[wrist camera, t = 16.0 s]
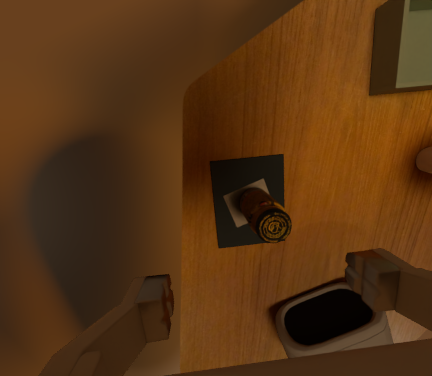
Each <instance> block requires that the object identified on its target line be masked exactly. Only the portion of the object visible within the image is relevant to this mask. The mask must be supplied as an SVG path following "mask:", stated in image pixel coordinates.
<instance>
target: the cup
mask: <svg viewBox="0 0 432 376" xmlns="http://www.w3.org/2000/svg"><path fill="white" fill-rule="evenodd" d="M416 166H417V168H418V169H419V170H421V171H425V172H428V173H431V174H432V147H427V148H425V149H423V150H422V151H420V152H419V154H418V155H417V158H416Z"/></svg>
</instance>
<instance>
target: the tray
mask: <svg viewBox="0 0 432 376" xmlns="http://www.w3.org/2000/svg"><path fill="white" fill-rule="evenodd" d="M421 90H432V0H388V1H387V2H385V3H384V4H383V5H381V6H380V7H379V8H377V9H376V16H375V29H374V42H373V55H372V68H371V81H370V94H369V95H378V94H389V93H400V92H410V91H421Z"/></svg>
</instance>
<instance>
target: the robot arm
mask: <svg viewBox="0 0 432 376" xmlns="http://www.w3.org/2000/svg"><path fill="white" fill-rule="evenodd" d="M345 261H346V263H347V264H348V266H347V268H346V269H345V279H346V282H347V284H348V285H349V287H350V288H351V289H352V290H353V291H354V292H356V293H358V294H360V295H361V298H362V300H363V301H364V302H365V303H366V304H367V305H368V306H369V307H370V308H371V309H372V310H373V311H374V312H379V311H389V310H395V311H396V312H398V313H400V314H402V315H403V316H405V317H407V318H409V319H411V320H412V321H414V322H416V323H418V324H420V325H421V326H423V327H425V328H427V329H429V330H431V331H432V271H428V270H425V269H421V268H415V267H413V266H411V265H410V264H408V263H406V262H405V261H403V260H401V259H400V258H398V257H396V256H395V255H393V254H391V253H390V252H388V251H386V250H385V249H382V248H377V249H371V250H366V251H358V252H351V253H347V255H346V260H345ZM170 286H171V278H170V275H169V274H165V275H156V276H147V277H146V276H145V277H137V278H134V279H133V281H132V283H131V285H130V287H129V289H128V291H127V293H126V295H125V297H124V299H123V300H122V303H121V304H120V306H116V307H115V308H113V309H112V310H111V311H109V312H108V313H107V314H106V315H104V316H103V317H102V318H100V319H99V320H98V321H96V322H95V323H94V324H93V325H91V326H90V327H89V328H87V329H86V330H85V331H84V332H82V333H81V334H80V335H78V336H77V337H76V338H75V339H73V340H72V341H71V342H69V343H68V344H67V345H66V346H64V347H63V348H62V349H60V350H59V351H58V352H57V353H55V354H54V355H53V356H52V357H51V359H50V360H49V362H48V363H47V365H46V366H45V367H44V369H43V370H42V372H41V373H40V374H39V376H123V375H124V374H125V372H126V371H127V370H128V368H129V367H130V366H131V364H132V363H133V362H134V360H135V359H136V357H137V356H138V355H139V354H140V352H141V351H142V349H143V348H144V347H145V345H146V343H148V342H155V341H161V340H167V339H169V333H170V327H171V321H170V317H171V316H172V315H173V310H174V296H173V291H172V290H171V289H170ZM166 376H432V339H425V340H417V341H410V342H403V343H396V344H388V345H381V346H374V347H366V348H359V349H352V350H345V351H337V352H330V353H323V354H316V355H309V356H302V357H295V358H288V359H280V360H273V361H266V362H259V363H252V364H245V365H237V366H230V367H223V368H216V369H209V370H202V371H194V372H187V373H180V374H173V375H166Z"/></svg>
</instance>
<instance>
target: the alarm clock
mask: <svg viewBox="0 0 432 376" xmlns="http://www.w3.org/2000/svg"><path fill="white" fill-rule="evenodd" d="M275 322H276V329H277V333H278V336H279V338H280V340H281V342H282V345H283V347H284V349H285V352H286V354H287V356H288V358H295V357H302V356H309V355H316V354H323V353H330V352H337V351H345V350H352V349H359V348H366V347H374V346H381V345H388V344H394V343H393V339H392V336H391V332H390V328H389V324H388V320H387V316H386V312H385V311H379V312H374V311H373V310H372V309H371V308H370V307H369V306H368V305H367V304H366V303H365V302H364V301H363V300H362V298H361V295H360V294H358V293H356V292H354V291H353V290H352V289H351V288H350V287H349V285H348V284H347V282H340V283H336V284H333V283H332V284H329V285H327V286H324V287H322V288H319V289H317V290H314V291H312V292H309V293H307V294H304V295H302V296H299V297H297V298H294V299H292V300H289V301H287V303H286V304H284V305H282V306H281V308H280V309H279V310H278V311H277V314H276V317H275Z"/></svg>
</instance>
